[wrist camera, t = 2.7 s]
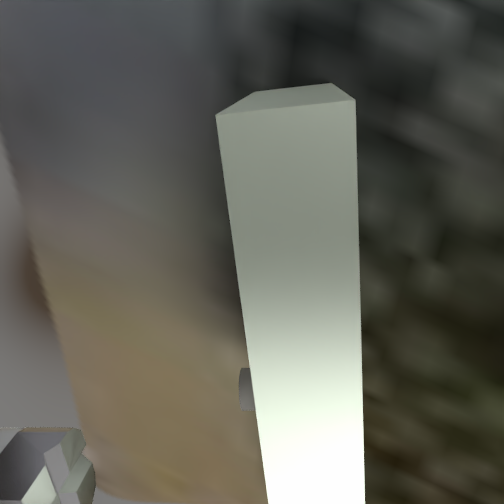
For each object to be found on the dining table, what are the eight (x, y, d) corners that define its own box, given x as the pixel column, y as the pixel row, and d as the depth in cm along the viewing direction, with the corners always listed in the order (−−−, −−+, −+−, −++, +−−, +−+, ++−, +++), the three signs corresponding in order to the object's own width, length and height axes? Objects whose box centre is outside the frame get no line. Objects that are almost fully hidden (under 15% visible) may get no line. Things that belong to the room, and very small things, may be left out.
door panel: (230, 94, 14) (171, 119, 8) (331, 82, 14) (355, 100, 8) (262, 354, 18) (239, 514, 12) (342, 351, 18) (364, 516, 11)
